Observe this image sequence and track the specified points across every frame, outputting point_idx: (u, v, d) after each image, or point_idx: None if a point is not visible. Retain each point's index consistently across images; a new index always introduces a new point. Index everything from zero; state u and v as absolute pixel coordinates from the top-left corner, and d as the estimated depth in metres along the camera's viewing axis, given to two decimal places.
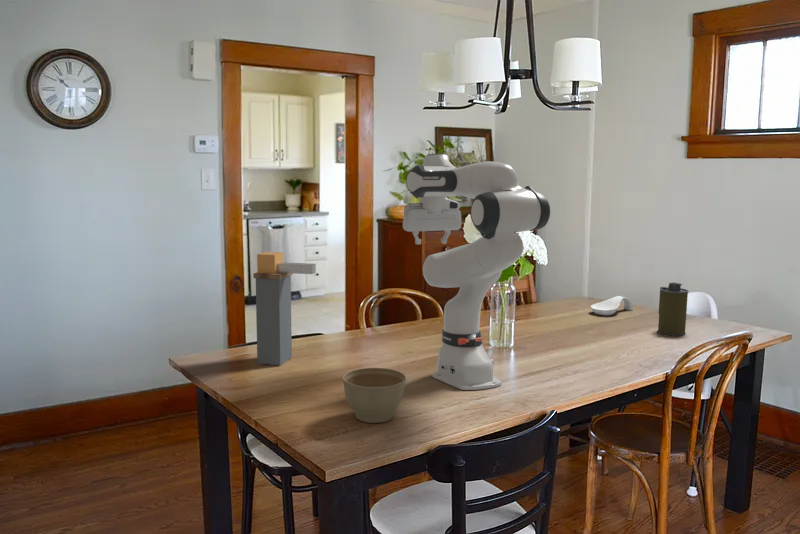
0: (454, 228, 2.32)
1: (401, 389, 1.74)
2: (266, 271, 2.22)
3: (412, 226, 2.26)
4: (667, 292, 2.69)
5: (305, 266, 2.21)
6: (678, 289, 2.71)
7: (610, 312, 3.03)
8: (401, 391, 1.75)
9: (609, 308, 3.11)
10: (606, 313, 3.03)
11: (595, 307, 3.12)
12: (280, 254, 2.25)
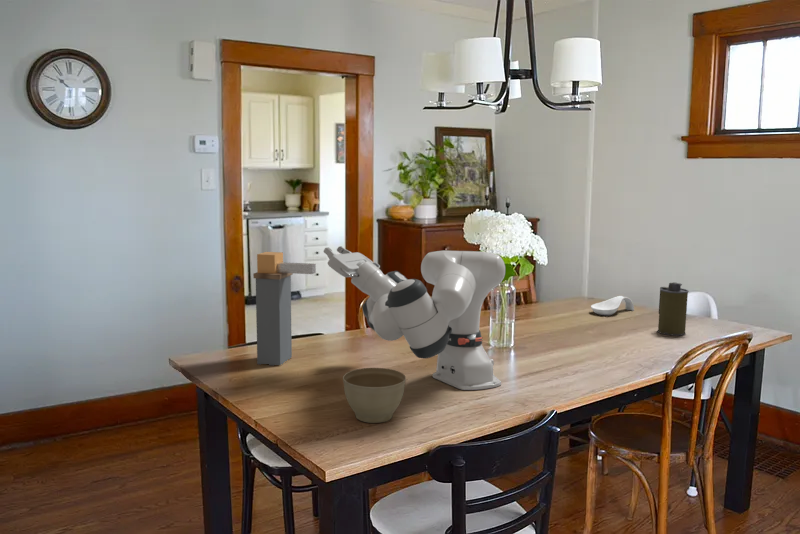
0: None
1: (401, 389, 1.74)
2: (266, 271, 2.22)
3: None
4: (667, 292, 2.69)
5: (305, 266, 2.21)
6: (678, 289, 2.71)
7: (610, 312, 3.04)
8: (401, 391, 1.75)
9: (610, 308, 3.11)
10: (606, 313, 3.04)
11: (595, 307, 3.12)
12: (280, 254, 2.25)
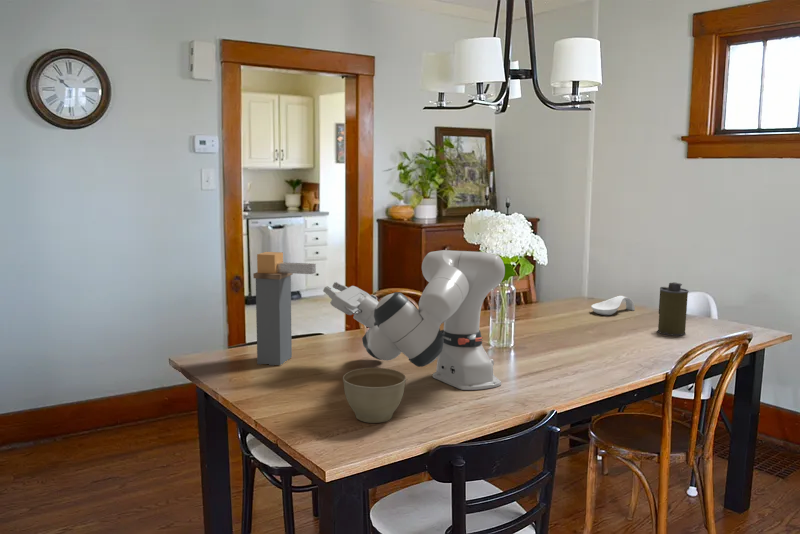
0: None
1: (401, 389, 1.74)
2: (266, 271, 2.22)
3: None
4: (667, 292, 2.69)
5: (305, 266, 2.21)
6: (678, 289, 2.71)
7: (610, 312, 3.04)
8: (401, 391, 1.75)
9: (610, 308, 3.12)
10: (606, 313, 3.04)
11: (596, 307, 3.13)
12: (280, 254, 2.25)
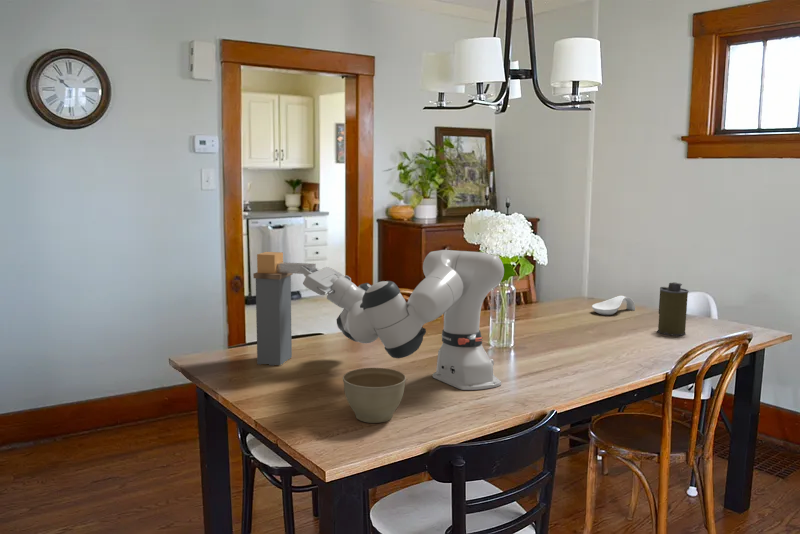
0: None
1: (401, 389, 1.74)
2: (266, 271, 2.22)
3: None
4: (667, 292, 2.69)
5: (305, 266, 2.21)
6: (678, 289, 2.71)
7: (611, 311, 3.04)
8: (401, 391, 1.75)
9: (611, 308, 3.12)
10: (607, 312, 3.05)
11: (597, 306, 3.13)
12: (280, 254, 2.25)
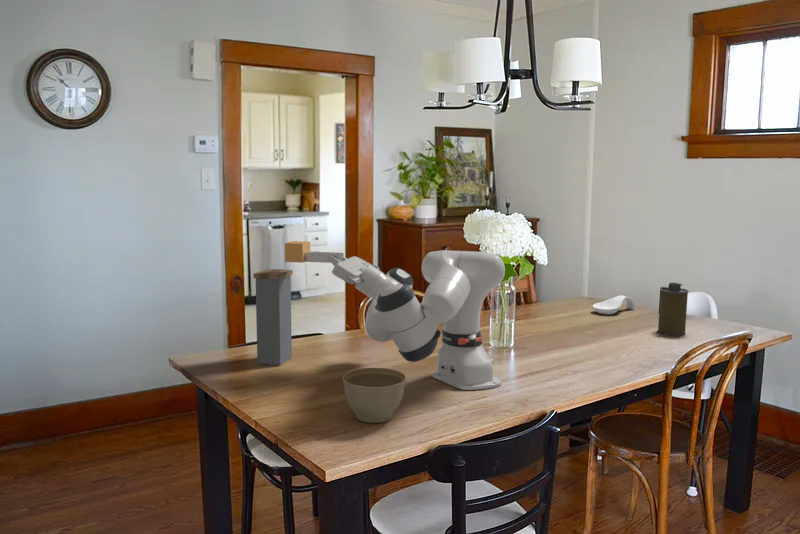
0: None
1: (401, 389, 1.74)
2: (294, 260, 2.20)
3: None
4: (667, 292, 2.69)
5: (333, 255, 2.19)
6: (678, 289, 2.71)
7: (612, 311, 3.05)
8: (401, 391, 1.75)
9: (611, 308, 3.13)
10: (608, 312, 3.05)
11: (597, 306, 3.13)
12: (307, 243, 2.23)
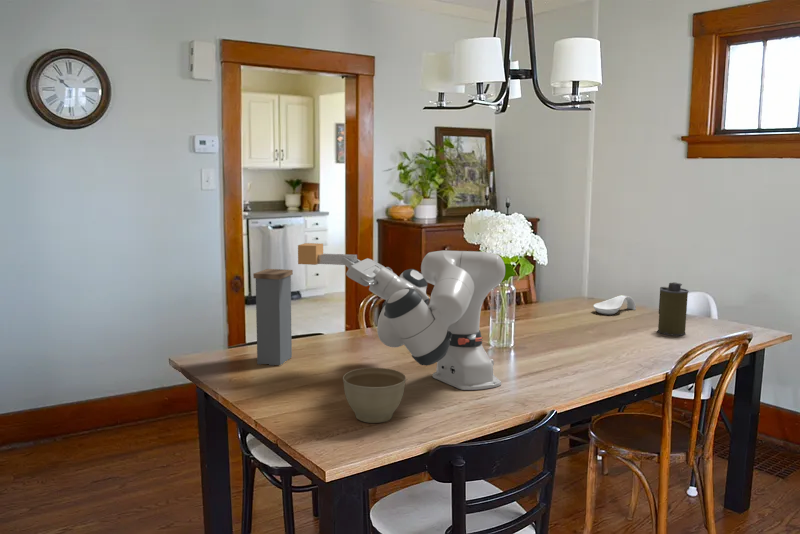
0: None
1: (401, 389, 1.74)
2: (307, 262, 2.18)
3: None
4: (667, 292, 2.69)
5: (347, 257, 2.17)
6: (678, 289, 2.71)
7: (612, 311, 3.05)
8: (401, 391, 1.75)
9: (612, 307, 3.13)
10: (608, 312, 3.05)
11: (598, 306, 3.14)
12: (321, 245, 2.22)
